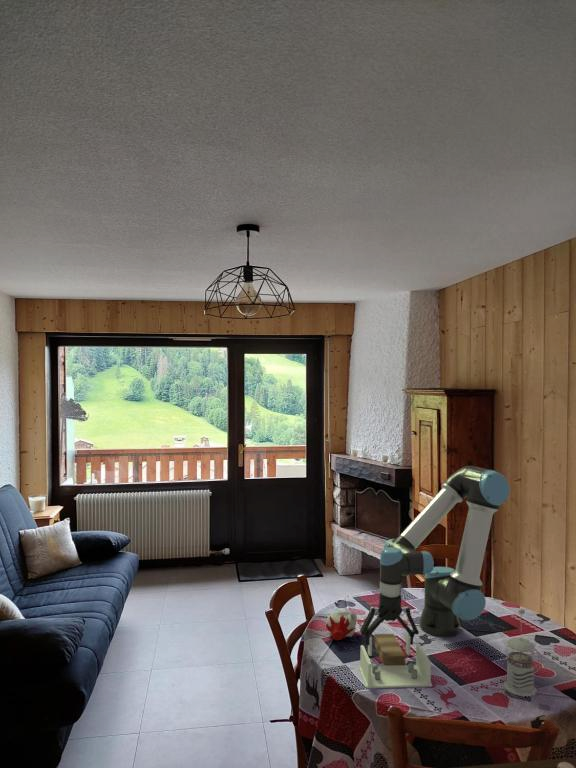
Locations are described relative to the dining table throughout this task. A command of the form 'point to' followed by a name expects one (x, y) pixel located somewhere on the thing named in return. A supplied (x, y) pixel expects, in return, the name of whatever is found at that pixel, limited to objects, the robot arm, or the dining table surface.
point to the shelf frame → (396, 672)
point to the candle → (341, 624)
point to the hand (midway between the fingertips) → (388, 653)
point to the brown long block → (389, 649)
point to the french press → (516, 680)
